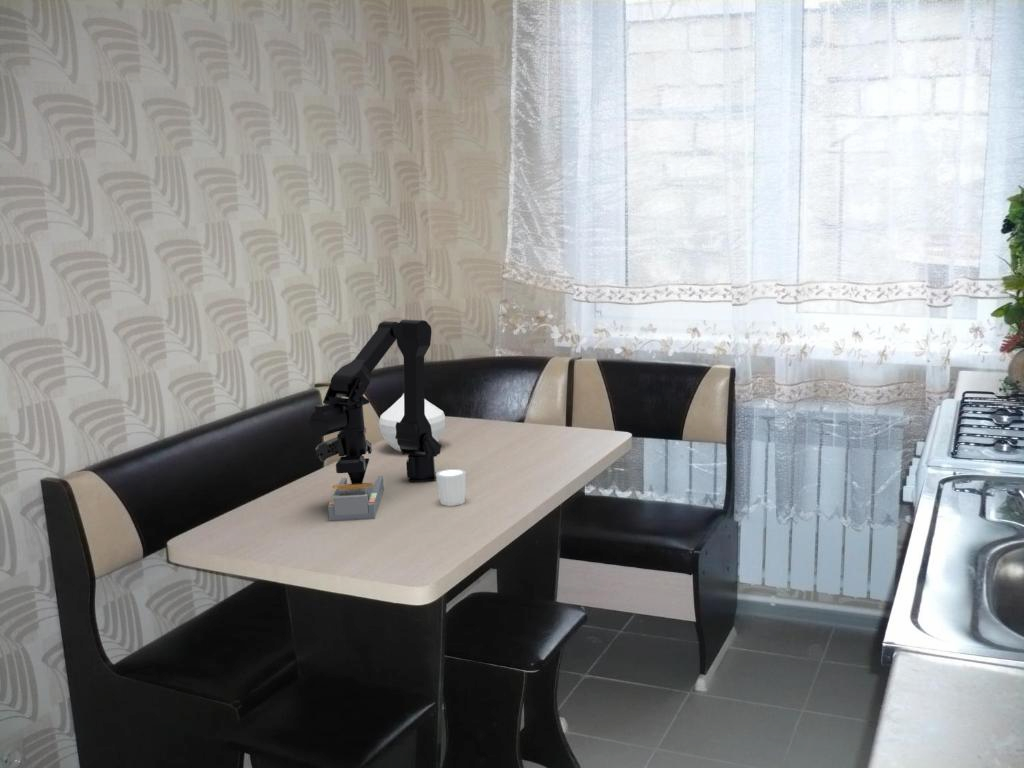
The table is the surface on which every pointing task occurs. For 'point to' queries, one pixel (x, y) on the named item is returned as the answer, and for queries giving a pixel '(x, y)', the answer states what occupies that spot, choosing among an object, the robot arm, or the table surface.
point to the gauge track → (356, 503)
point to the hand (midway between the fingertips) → (357, 492)
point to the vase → (396, 415)
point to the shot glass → (451, 486)
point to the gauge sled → (353, 489)
